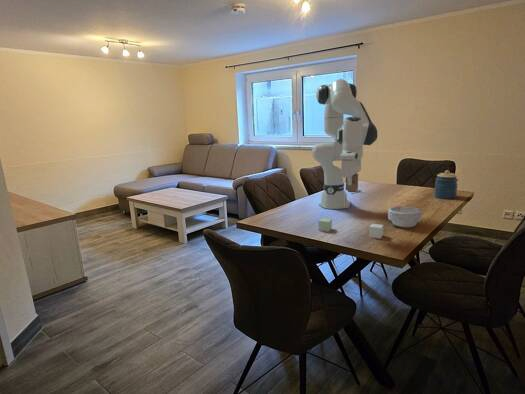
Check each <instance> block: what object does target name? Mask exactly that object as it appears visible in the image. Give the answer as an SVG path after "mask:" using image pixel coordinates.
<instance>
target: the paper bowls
mask: <svg viewBox="0 0 525 394" xmlns="http://www.w3.org/2000/svg"><path fill="white" fill-rule="evenodd" d="M422 214H423V212H422V209H420V208H417V207H413V206H403V205H402V206H392V207H389V208H388V212H387V218H388V219H387V220H389V221H391V223H392V224H393V225H394V226H396V227H398V228H412V227H415V226H416V225H417V223H419V222H422Z"/></svg>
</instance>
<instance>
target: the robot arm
mask: <svg viewBox="0 0 525 394" xmlns="http://www.w3.org/2000/svg"><path fill="white" fill-rule="evenodd" d="M356 86H357V85H355V84H354V83H348V81H347V80H346V79H342V78H339V79H335V80H334V81H333V82H332V83H330V84H322V85H319V86H318V87H317V90H316V93H315V96H316V100H317V103H318V104H319V105H325V107H324V113H323V119H324V120H323V121H324V122H323V123H324V125H323V126H324V127H323V128H324V130H323V131H324V132H325V134H326V135H327V136H329V137H331V138H333V139H334V141H333V142H332V141H331V142H320V143H316V144H314V146H313V147H312V149H311V155H312V157H313V159H314V160H315V161H317V163H318V164H320V166H321V167H322V170H323V175H324V176H323V177H324V183H323V191H321V193H320V195H321V197H320V202H319V203H318V206H320V207H322V209H329V210H341V209H347V208H348V209H349V208H350V205H351V200H348V195H347V194H348V193H347V192H346V190H345V182H344V178H346V177H347V181H348V185H352V176H353V175H354V174H359V172H361V170H362V158H363V156H364V155H363V154H364V152H363V151H364V149H363V148H364V147H363V146H371V145H372V144H374V143H375V142H376V141H377V139H378V129H377V127H376V125H375V124H374V123H373V121H372V120H371V118H370V115H369V113H368V111H367V109H366V107H365V106H364V104H363V103H362V102H361V101H359V100H358V99H356V98H357V94H358V91H357V87H356ZM344 115H346V116H348V117H345V116H344ZM344 117H345V118H344ZM334 161H335V162H340V161H341V163H340V164H341V165H340V166H341V168H340V167H339V166H336V165H334V163H333V162H334Z"/></svg>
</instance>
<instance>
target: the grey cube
mask: <svg viewBox="0 0 525 394" xmlns="http://www.w3.org/2000/svg"><path fill="white" fill-rule="evenodd" d="M368 232H369V233H368V237H369V238H370V239H371V238H373V239H378V240H379V239H380V240H381V239H382V237H383V235H384V224H378V223H371V224H370V225H369V231H368Z"/></svg>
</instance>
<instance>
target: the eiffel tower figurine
mask: <svg viewBox="0 0 525 394" xmlns="http://www.w3.org/2000/svg"><path fill="white" fill-rule="evenodd" d="M347 192H348V193H350V195H354V194H358V193H360V192H362V190H359V189H357V190H356V191H352V190H347Z"/></svg>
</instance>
